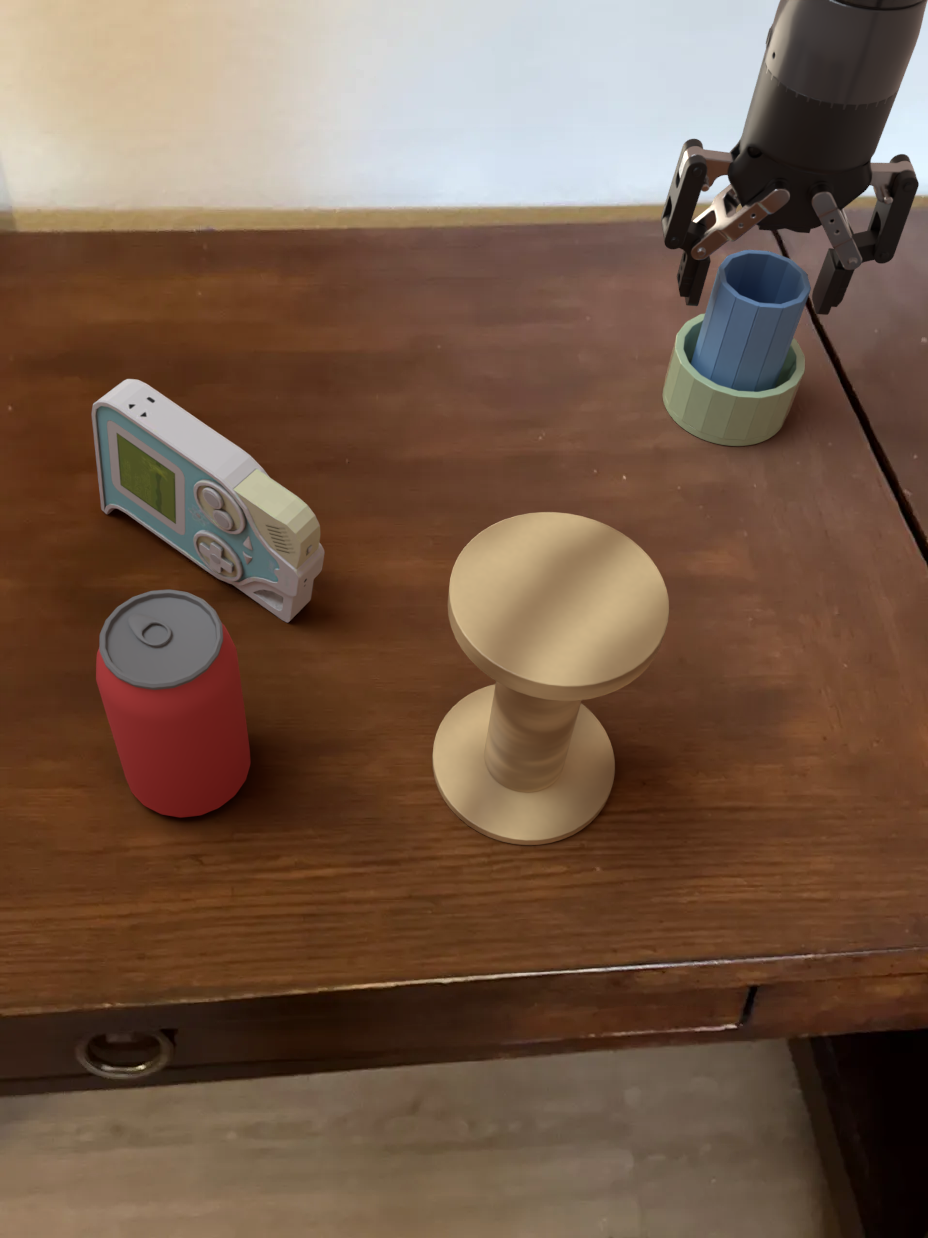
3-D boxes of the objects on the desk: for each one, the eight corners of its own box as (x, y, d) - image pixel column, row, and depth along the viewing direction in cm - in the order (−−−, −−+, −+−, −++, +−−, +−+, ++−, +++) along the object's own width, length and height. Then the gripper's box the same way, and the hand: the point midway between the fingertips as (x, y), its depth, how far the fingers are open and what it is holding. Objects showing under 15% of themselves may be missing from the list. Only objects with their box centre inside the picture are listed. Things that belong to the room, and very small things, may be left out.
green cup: (804, 390, 87) (823, 341, 83) (758, 465, 82) (776, 416, 78) (692, 343, 89) (706, 293, 86) (641, 413, 84) (654, 363, 81)
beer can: (186, 695, 68) (159, 557, 58) (277, 758, 66) (264, 626, 56) (99, 777, 64) (55, 645, 55) (192, 846, 62) (163, 721, 53)
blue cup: (779, 388, 86) (822, 271, 78) (748, 436, 83) (790, 319, 75) (704, 356, 87) (739, 238, 79) (671, 402, 84) (705, 284, 76)
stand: (643, 739, 68) (704, 569, 56) (561, 879, 63) (610, 724, 51) (488, 659, 71) (516, 481, 59) (397, 787, 65) (407, 619, 53)
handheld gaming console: (287, 649, 73) (97, 513, 75) (316, 619, 74) (129, 487, 77) (301, 540, 63) (84, 389, 66) (334, 509, 65) (120, 362, 67)
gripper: (713, 88, 63) (651, 333, 76) (979, 108, 64) (873, 347, 77) (697, 16, 68) (641, 259, 81) (946, 35, 68) (851, 273, 81)
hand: (755, 302), depth 79 cm, fingers open, 8 cm apart
